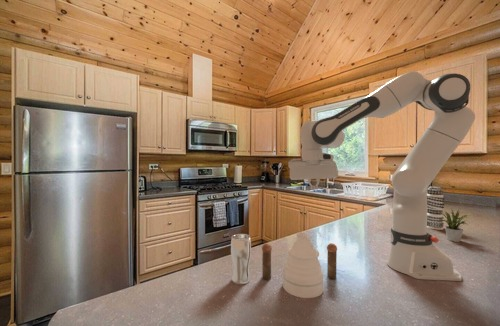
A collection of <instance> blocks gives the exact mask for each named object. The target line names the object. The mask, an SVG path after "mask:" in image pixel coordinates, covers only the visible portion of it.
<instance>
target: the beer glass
mask: <svg viewBox="0 0 500 326" xmlns="http://www.w3.org/2000/svg"><path fill="white" fill-rule="evenodd" d="M251 254H252V240H251V236H250V235H249V234H247V233H237V234H233V235H232V236H231V241H230V256H231V261H232V267H233V268H232V270H233V271H232V272H233V273H232V277H231V280H232V283H233V284H236V285H246V284H248V283H249V282H250V281H251V279H250V278H251V277H250V270H249V269H250V268H249V267H250V261H251V256H252V255H251Z"/></svg>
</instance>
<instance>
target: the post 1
mask: <svg viewBox="0 0 500 326" xmlns="http://www.w3.org/2000/svg"><path fill="white" fill-rule="evenodd" d="M261 250H262V279H263V280H265V281H269V280H271V279H272V246H271V244H270V243H264V244H262V247H261Z"/></svg>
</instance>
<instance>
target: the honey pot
mask: <svg viewBox="0 0 500 326" xmlns="http://www.w3.org/2000/svg"><path fill="white" fill-rule="evenodd" d="M296 236H297V238H296V239H295V240H294V242H293V244H292V246H291V247H289V248H288V249H287V254H288V256H287V257H286V261H285V263H284V266H283V269H282V287H283V290H285V291H286V292H287V293H288V294H289V295H291V296H293V297H294V296H295V297H297V298H301V299H302V298H303V299H311V298H312V299H313V298H317V297H318V296H321V295H322V293H323V291H324V271H323V269H322V265H321V262H320V260H319V256H320V252H319V250H317V249H316V248H314V245H313V244H312V242H311V240H310V239H309V238H308V237H307V236H306V233H305V232H303V231H302V232H300V231H299V232H297V233H296Z"/></svg>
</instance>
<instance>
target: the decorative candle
mask: <svg viewBox="0 0 500 326" xmlns="http://www.w3.org/2000/svg"><path fill="white" fill-rule="evenodd" d="M445 199H446V198H444V189H443V188H442V187H440V186H434V185H433V186H431V185H430V186H428V187H427V229H430V230H431V229H432V230H438V231H440V230H441V231H442V230H444V228H445V226H444V221H443V220H445V219H444V217H445V216H444V215H443V214H444V213H443V212H444V210H445V209H444V208H445V207H444V206H445V204H444V203H445ZM442 213H443V214H442ZM440 219H443V220H440Z"/></svg>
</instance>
